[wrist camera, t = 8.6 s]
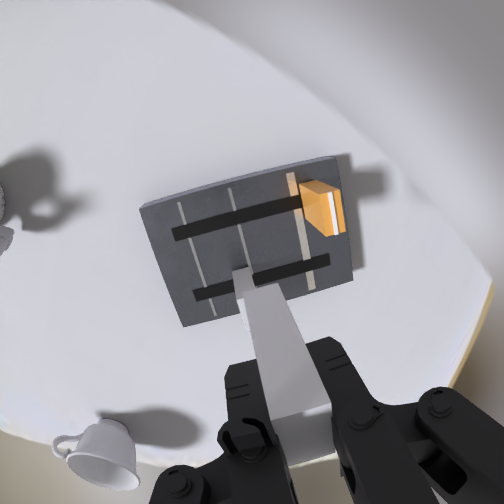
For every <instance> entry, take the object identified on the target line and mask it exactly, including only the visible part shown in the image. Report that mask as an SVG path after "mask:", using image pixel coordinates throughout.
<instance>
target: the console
mask: <svg viewBox="0 0 504 504" xmlns="http://www.w3.org/2000/svg"><path fill="white" fill-rule="evenodd" d="M313 180H318V181H320V182H322V183H325V184H327V185H330V186H332V187H334V188H337V189H339V190H340V196H341V202H342V208H343V215H344V222H345V229H346V231H345V232H342V233H338V235H331V236H327V237H326V236H325V235H324V234H322V233H321V232H320V231H319V230H318V229H317V228H316V227H314V226H313V225H312V224H311V223H310V222H309V221H308V220H306V218H305V213H304V208H303V203H302V198H301V193H300V188H299V184H300V183H305V182H309V181H313ZM139 211H140V214H141V217H142V220H143V223H144V226H145V229H146V232H147V235H148V237H149V240H150V243H151V246H152V249H153V251H154V254H155V257H156V260H157V262H158V265H159V268H160V270H161V273H162V276H163V278H164V281H165V284H166V286H167V289H168V291H169V294H170V296H171V299H172V301H173V304H174V306H175V309H176V311H177V314H178V316H179V318H180V321H181V323H182V325H183V327H187V326H191V325H195V324H199V323H203V322H208V321H212V320H216V319H219V318H223V317H227V316H231V315H235V314H239V313H240V310H239V307H238V303H237V300H236V294H235V288H234V282H233V275H232V271H235V270H239V269H243V268H246V267H249V268H250V272H251V275H252V279H253V282H254V285H255V289H256V288H260V287H264V286H267V285H271V284H274V283H278V285H279V287H280V289H281V291H282V293H283V296H284V298H285V300H290V299H293V298H297V297H300V296H304V295H307V294H310V293H314V292H317V291H320V290H324V289H327V288H330V287H334V286H337V285H340V284H343V283H346V282H350V281H353V273H352V263H351V254H350V246H349V238H348V230H347V223H346V216H345V209H344V202H343V196H342V190H341V184H340V178H339V172H338V167H337V161H336V158H335V157H329V156H326V157H321V158H316V159H311V160H307V161H302V162H297V163H293V164H288V165H284V166H280V167H275V168H271V169H267V170H263V171H259V172H255V173H251V174H247V175H243V176H239V177H235V178H231V179H227V180H224V181H220V182H216V183H213V184H209V185H205V186H202V187H198V188H195V189H191V190H188V191H184V192H181V193H178V194H174V195H171V196H168V197H164V198H161V199H158V200H155V201H152V202H148V203H145V204H144V205H142V206H141V207H140V208H139Z"/></svg>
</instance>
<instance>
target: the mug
mask: <svg viewBox="0 0 504 504" xmlns="http://www.w3.org/2000/svg"><path fill="white" fill-rule="evenodd" d="M3 196H4V192H3V189H2V187H1V185H0V221H1V219H2V217H3V214H4V209H5V206H4V204H5V199H3ZM13 234H14V230H13V229H11V228H9V227H5V226H2V225H0V256H1V255H2V253H3V252H4V251H6V250H7V249H8V248H9V246H10V244H11V242H12V240H13Z"/></svg>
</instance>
